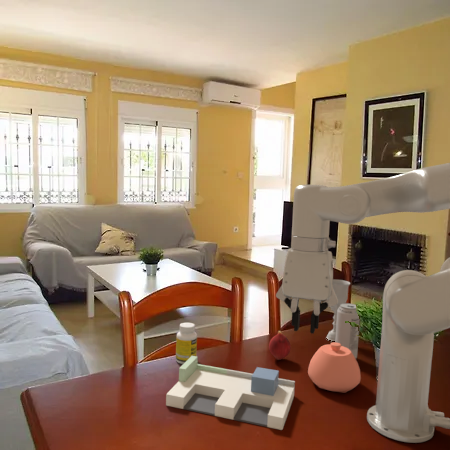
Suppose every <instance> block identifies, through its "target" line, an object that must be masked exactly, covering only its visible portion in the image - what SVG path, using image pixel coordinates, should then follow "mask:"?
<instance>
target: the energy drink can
mask: <svg viewBox="0 0 450 450" xmlns="http://www.w3.org/2000/svg"><path fill="white" fill-rule="evenodd" d="M356 305H357V304H354V303H349V302H346V303H342V304H340V307H339V309H338V310H337V323H336V338H335V342H337V343H340V344H341V346H344V347H346V348H348V349H349V350H350V351H351V352H352V354H353V355H354V357H355V359H356V360H357V358H358V351H359V349H358V347H359V336H356V335H359V334H360V330H359V331H358V327H352V326H351V325H350V323H345V321H349V322H355V323H356V324H358V325H359V326H360V320H361V319H359V316H358V314H357V312H356Z"/></svg>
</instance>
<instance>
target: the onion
mask: <svg viewBox="0 0 450 450" xmlns="http://www.w3.org/2000/svg"><path fill="white" fill-rule="evenodd" d="M291 349H292V348H291V343H290V341H289V339H288V337H287V336H286V335H284V334H283V332H282V331H281V330H278V331H277V334H276V335H274V336H273V337H272V338H271V339H270V340H269V344H268V350H269V352H270V354H271V355H272V356H273V357H274V358H275V360H277V361H281V360H283V359H286V357H287V356H288V355H289V354H290V353H291Z"/></svg>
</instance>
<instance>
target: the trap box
mask: <svg viewBox="0 0 450 450" xmlns="http://www.w3.org/2000/svg"><path fill="white" fill-rule="evenodd" d="M252 375H253V373H250V372H244V371H239V370H233V369H228V368H223V367H216V366H211V365H207V364H206V365H205V364H201V363H199V361H198V355H196V356H191V357H190V358H189V359H188V360H187V361H186V362H185V363H184V364H181V366H180V367H179V368H178V381H177V382H176V383H175V384H174V385H173V387H171V389H170V390H169V391H167V393H166V395H165V406H166V407H172V408H176V409H182V410H185V411H186V410H187V411H191V412H196V413H200V414H206V415H210V416H214V417H218V418H224V419H228V420H232V421H233V420H234V421H237V422H242V423H247V424H251V425H255V426H256V425H257V426H261V427H266V428H270V429H275V430H280V431H282V430H283V429H284V426H285V424H286V421H287V418H288V415H289V412H290V410H291V407H292V404H293V401H294V397H295V389H296V388H295V386H296V385H295V384H296V381H295V380H290V379H285V378H280V377H278V387H277V389H276V391H275V394H274V396H271V395H265V394H260V393H255V392H251V378H252Z"/></svg>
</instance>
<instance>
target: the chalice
mask: <svg viewBox="0 0 450 450" xmlns="http://www.w3.org/2000/svg"><path fill="white" fill-rule="evenodd" d="M350 285H351V282H350V281H347V280H343V279H334V278H333V290H334V292H335V294H336V297H337V299H338V304H336V305H334V306H331V307H329V308H330V310H331V311H332V312H333V316H332V319H333V322H332V323H331V324H332V325H333V328H332V329H331V330H329V331H328V334H327V335H326V337H325V339H326V338H327V339H328V340H327V339H326V340H327V341H329V340H331V341H330V342H332V341H335V338H336V323H337V310H338V309H339V307H340V304H342V303H347V300H348V295H349V294H348V293H349V287H350Z"/></svg>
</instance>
